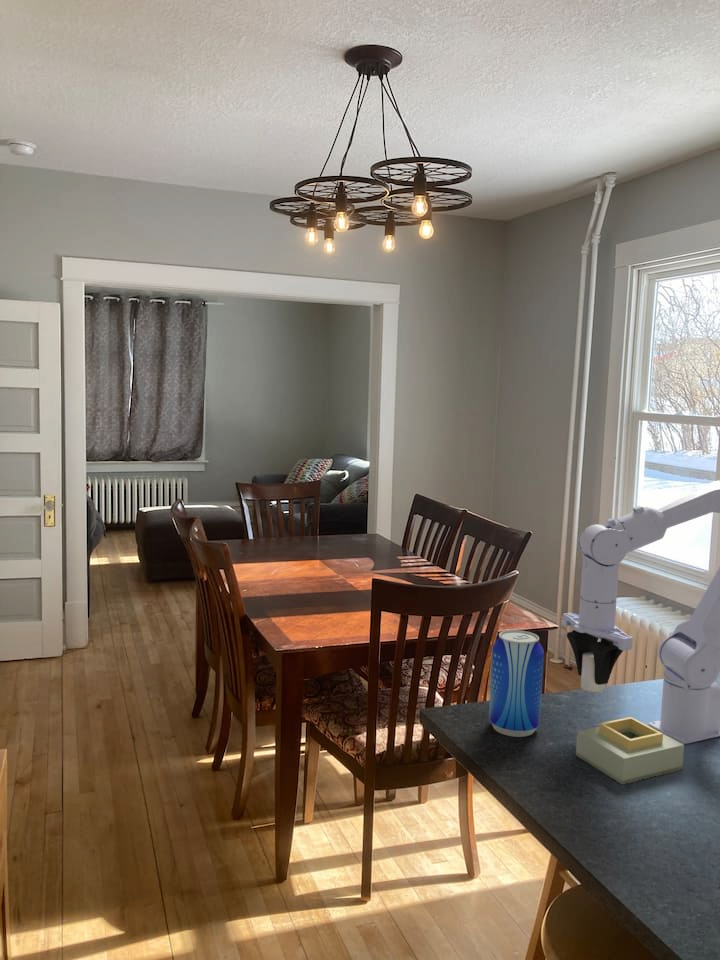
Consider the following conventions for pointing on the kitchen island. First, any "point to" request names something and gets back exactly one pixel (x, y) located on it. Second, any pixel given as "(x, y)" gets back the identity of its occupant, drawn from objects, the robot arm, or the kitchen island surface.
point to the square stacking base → (629, 750)
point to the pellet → (589, 674)
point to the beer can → (516, 683)
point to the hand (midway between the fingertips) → (592, 678)
